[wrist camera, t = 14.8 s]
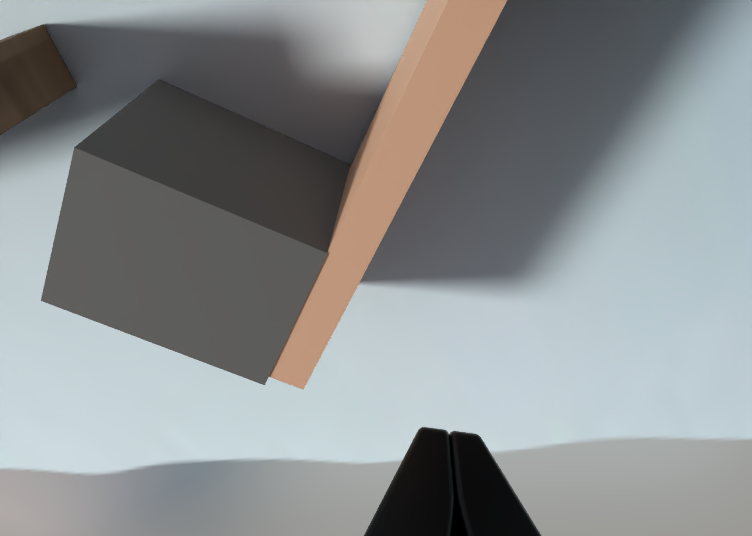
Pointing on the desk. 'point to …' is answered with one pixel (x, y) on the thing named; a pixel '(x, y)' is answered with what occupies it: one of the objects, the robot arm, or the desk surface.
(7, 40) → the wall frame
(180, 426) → the desk surface
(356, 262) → the door
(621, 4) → the desk surface
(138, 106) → the block
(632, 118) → the desk surface
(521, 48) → the desk surface
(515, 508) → the robot arm
